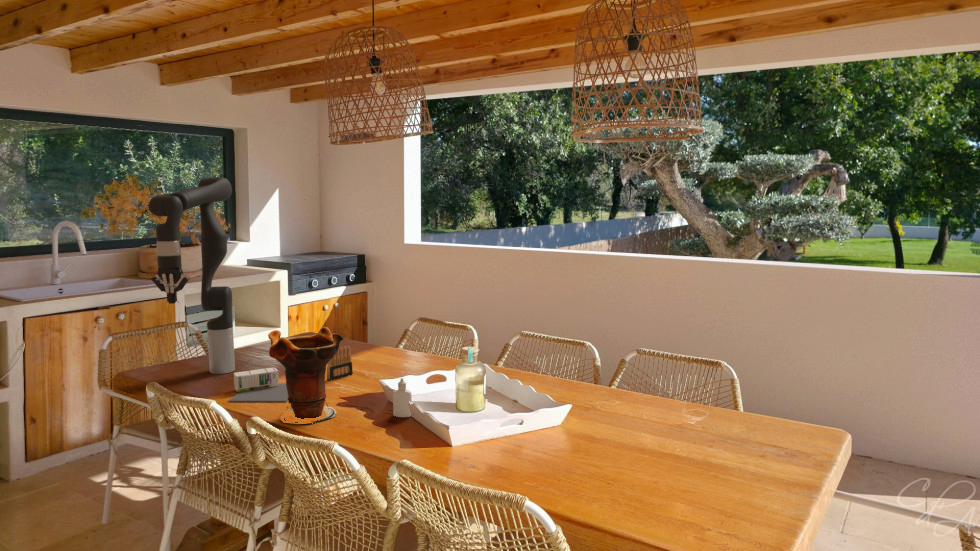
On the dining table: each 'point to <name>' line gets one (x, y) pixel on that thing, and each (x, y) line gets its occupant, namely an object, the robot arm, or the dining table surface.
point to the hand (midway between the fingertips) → (172, 303)
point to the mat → (263, 395)
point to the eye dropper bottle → (401, 400)
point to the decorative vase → (306, 369)
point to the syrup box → (256, 379)
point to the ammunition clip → (340, 364)
